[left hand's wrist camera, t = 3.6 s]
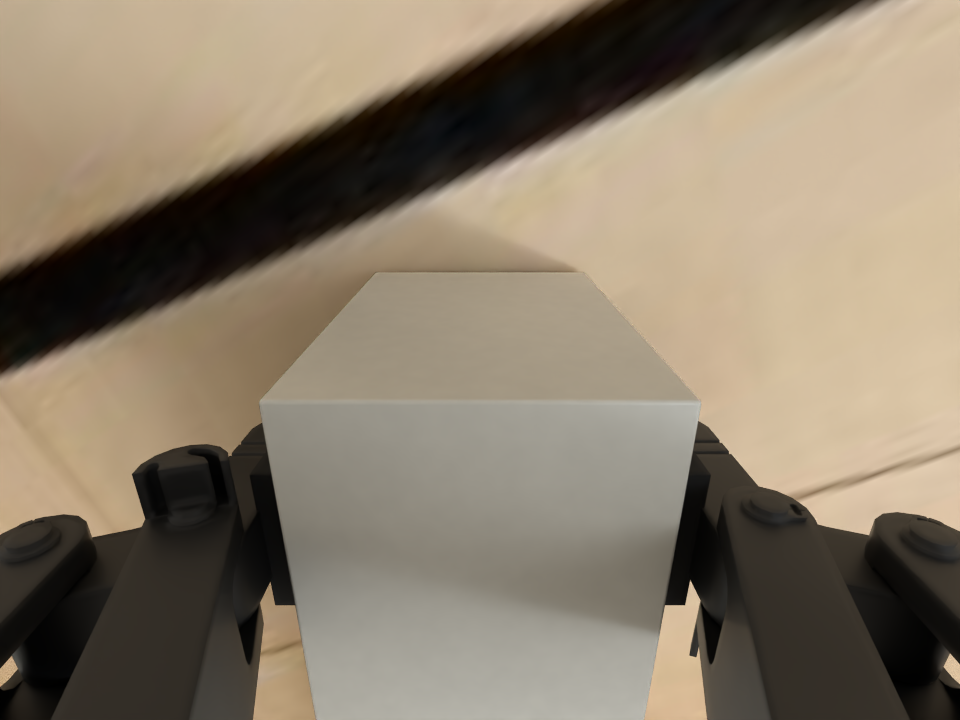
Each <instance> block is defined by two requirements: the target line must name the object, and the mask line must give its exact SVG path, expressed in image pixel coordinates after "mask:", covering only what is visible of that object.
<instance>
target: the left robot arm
mask: <svg viewBox="0 0 960 720" xmlns="http://www.w3.org/2000/svg"><path fill="white" fill-rule="evenodd" d="M132 476H133V479H134V483H135V486H136V489H137V493H138V496H139V499H140V503H141V506H142V509H143V513H144V516H145V521H144V523H143V525H142V527H140V528H136V529H132V530H127V531H122V532H117V533H112V534H107V535H102V536H97V537H92V536H91V533H90V530H89V528H88V525H87V522H86V521H85V520H83V519H82V518H80V517H79V516H74V515H56V516H49V517H42V518H38V519H35V520H34V521H32V520H31V521H28V522H25V523H22V524H20V525H19V526H17V527H15V528H13V529H11V530H9V531H7V532H5V533H3V534H1V535H0V668H1V667H2V666H3V665H4V664H5V663H6V661H7V660H8V659H9V658H10V657H11V656H12V657H13V659H14V661H15V663H16V665H17V667H18V670H17V671H16V672H15V673H14V674H13V675H12V677H11V678H10V679H9V680H8V681H7V682H6V683H4V684H3V685H2V686H1V687H0V720H253V714H254V705H255V696H256V687H257V678H258V669H259V661H260V652H261V643H262V634H263V625H264V622H263V616H262V610H261V606H260V601H261V599H262V597H263V595H264V593H265V591H266V589H267V587H268V585H269V583H270V581H271V586H272V591H273V596H274V601H275V605H295V601H294V595H293V590H292V584H291V579H290V573H289V568H288V562H287V557H286V551H285V545H284V540H283V534H282V529H281V523H280V518H279V512H278V507H277V501H276V496H275V490H274V485H273V479H272V473H271V468H270V462H269V457H268V451H267V446H266V440H265V435H264V429H263V424H262V423H261V424H259V425H258V426H256V427H254V428H253V429H252V430H251V431H250V432H249V433H248V435H247V436H246V437H245V438H244V439H243V441H242V442H241V445H238V447H237V448H236V449H235V450H234V451H233V453H232V456H229V457H228V452H227V451H225V450H224V449H222V448H221V447H218V446H213V445H208V444H204V445H189V446H185V447H180V448H175V449H172V450H169V451H167V452H164V453H161V454H159V455H156V456H154V457H153V458H151V459H149V460H148V461H146V462H144V463H143V464H141V465H140V466H139V467H138V468H137V469H136V470H135V471H134V473H133V474H132ZM690 580H691V582H692V584H693V586H694V588H695V590H696V592H697V594H698V596H699V598H700V600H701V601H700V606H699V610H698V615H697V620H696V624H695V629H694V634H693V638H692V643H691V649H690V656H694V657H696V656H697V652H698V647H699V650H700V659H701V668H702V677H703V686H704V695H705V703H706V712H707V720H960V684H959V683H958V682H957V681H955V680H954V679H953V678H952V677H951V675H950V674H949V673H948V672H947V671H946V670H945V668H944V667H943V666H944V664H945V662H946V660H947V658H948V656H949V654H951V655H952V656H953V657H954V658H955V659H956V660H957V661H958V663H959V664H960V531H957V530H955V529H953V528H951V527H949V526H947V525H945V524H943V523H942V522H940V521H937V520H934V519H931V518H929V519H928V518H927V517H924V516H920V515H914V514H906V513H899V512H895V513H886V514H882V515H881V516H879V517H878V518H876V519H875V521H874V523H873V526H872V529H871V532H870V535H864V534H859V533H854V532H849V531H844V530H839V529H834V528H829V527H825V526H821V525H817V522H816V520H815V518H814V517H813V516H812V515H811V513H810V512H809V511H808V509H807V508H806V507H804V506H803V505H801V504H800V503H799V502H797V501H796V500H794V499H793V498H791V497H789V496H786V495H784V494H782V493H780V492H778V491H775V490H771V489H767V488H763V487H758V485H757V484H756V483H755V482H754V481H753V479H752V478H751V477H750V476H749V475H748V474H747V472H746V471H745V470H744V469H743V468H742V466H741V465H740V464H739V463H738V462H737V461H736V459H735V458H734V457H733V456H732V455H731V454H729V451H728V450H727V449H726V447H725V446H724V445H723V444H722V443H720V442H719V439H718V438H717V437H716V436H715V434H714V433H713V432H712V431H711V430H710V429H709V427H707V426H706V425H704V424H702V423H701V422H699V421H698V424H697V430H696V435H695V441H694V447H693V452H692V458H691V463H690V469H689V474H688V480H687V485H686V491H685V496H684V502H683V507H682V513H681V518H680V524H679V529H678V535H677V541H676V546H675V552H674V557H673V563H672V568H671V574H670V579H669V585H668V590H667V596H666V601H665V605H685V603H686V598H687V593H688V588H689V583H690Z"/></svg>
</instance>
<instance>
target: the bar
mask: <svg viewBox="0 0 960 720" xmlns="http://www.w3.org/2000/svg"><path fill="white" fill-rule="evenodd" d="M259 407H260V413H261V418H262V424H263V429H264V435H265V440H266V446H267V451H268V457H269V462H270V468H271V473H272V479H273V485H274V490H275V496H276V501H277V507H278V512H279V518H280V523H281V529H282V534H283V540H284V545H285V551H286V557H287V562H288V568H289V573H290V579H291V584H292V590H293V595H294V601H295V606H296V612H297V617H298V623H299V629H300V634H301V640H302V645H303V651H304V656H305V662H306V667H307V673H308V678H309V684H310V689H311V695H312V701H313V706H314V712H315V717H316V720H644V717H645V712H646V706H647V701H648V695H649V690H650V684H651V679H652V673H653V668H654V662H655V657H656V651H657V646H658V640H659V635H660V629H661V623H662V618H663V612H664V607H665V601H666V596H667V590H668V585H669V579H670V574H671V568H672V563H673V557H674V552H675V546H676V541H677V535H678V529H679V524H680V518H681V513H682V507H683V502H684V496H685V491H686V485H687V480H688V474H689V469H690V463H691V458H692V452H693V447H694V441H695V435H696V430H697V424H698V419H699V413H700V408H701V401H700V399H699V398H698V397H697V396H696V395H695V394H694V393H693V392H692V390H691V389H690V388H689V387H688V386H687V385H686V384H685V383H684V382H683V381H682V379H681V378H680V377H679V376H678V375H677V374H676V373H675V372H674V371H673V370H672V368H671V367H670V366H669V365H668V364H667V363H666V362H665V361H664V360H663V359H662V357H661V356H660V355H659V354H658V353H657V352H656V351H655V350H654V349H653V347H652V346H651V345H650V344H649V343H648V342H647V341H646V340H645V339H644V338H643V336H642V335H641V334H640V333H639V332H638V331H637V330H636V329H635V328H634V327H633V325H632V324H631V323H630V322H629V321H628V320H627V319H626V318H625V317H624V316H623V314H622V313H621V312H620V311H619V310H618V309H617V308H616V307H615V306H614V304H613V303H612V302H611V301H610V300H609V299H608V298H607V297H606V296H605V295H604V293H603V292H602V291H601V290H600V289H599V288H598V287H597V286H596V285H595V284H594V282H593V281H592V280H591V279H590V278H589V277H588V276H587V275H586V274H585V273H584V272H376V273H375V274H374V275H373V276H372V277H371V278H370V279H369V280H368V282H367V283H366V284H365V285H364V286H363V287H362V288H361V289H360V290H359V291H358V293H357V294H356V295H355V296H354V297H353V298H352V299H351V300H350V301H349V302H348V304H347V305H346V306H345V307H344V308H343V309H342V310H341V311H340V312H339V313H338V315H337V316H336V317H335V318H334V319H333V320H332V321H331V322H330V323H329V324H328V326H327V327H326V328H325V329H324V330H323V331H322V332H321V333H320V334H319V335H318V337H317V338H316V339H315V340H314V341H313V342H312V343H311V344H310V345H309V347H308V348H307V349H306V350H305V351H304V352H303V353H302V354H301V355H300V356H299V358H298V359H297V360H296V361H295V362H294V363H293V364H292V365H291V366H290V367H289V369H288V370H287V371H286V372H285V373H284V374H283V375H282V376H281V377H280V378H279V380H278V381H277V382H276V383H275V384H274V385H273V386H272V387H271V388H270V389H269V391H268V392H267V393H266V394H265V395H264V396H263V397H262V398H261V399H260V402H259Z"/></svg>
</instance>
